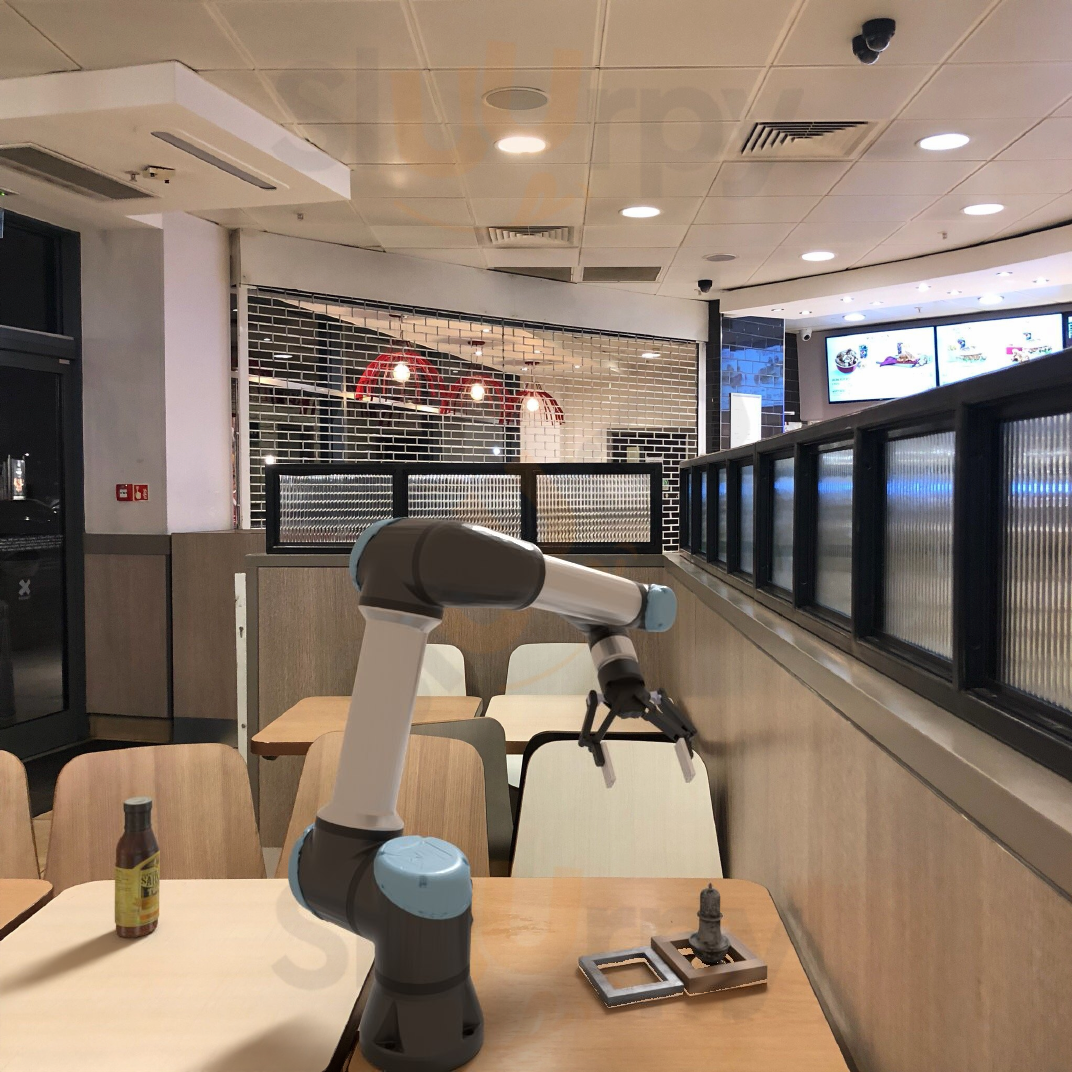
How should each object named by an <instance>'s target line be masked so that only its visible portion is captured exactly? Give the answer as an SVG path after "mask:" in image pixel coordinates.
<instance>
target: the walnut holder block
mask: <svg viewBox="0 0 1072 1072" xmlns="http://www.w3.org/2000/svg"><path fill="white" fill-rule="evenodd" d="M720 929H721V934H722V935H724V936H726V937H727V938H728V939H729V940H730V947H729V948H728V952H727V954H728V955H729V956H730V957H731V958H732V959H733V961H734V963H731V962H729V963H727V964H722V965H716V966H710V967H704V968H698V969H695V968H694V967H693V966H692V964H691V961H689V960H688V959H687V958H686V957H685V956H683V955H682V954H681V953H680V952H679V951H678V949H683V948H686V949H687V948H691V944H690V942H689V937H690V935H692V934H693V933H696V932H698V930H699V929H694V930H688V931H681V932H674V933H667V934H662V935H661V934H660V935H655V936H654V935H653V936H650V947H651V948H652V949H653V951H654V952H655V953H656V954H657V955H658V956H659V957H660V958H661V959H662V960H663V962H664V963H665V964H666V965H667V966H668V967H669V968H670V969H671V970H672V972H673V973H674V974H675V975H676V976H677V977H678V978H679V979H680V980H681V981H682V983H683V984H684V988H685V989H686V990H687V992H688V993H689V994H693V993H694V994H695V993H704V992H710V991H716V990H719V989H721V990H722V989H725V988H731V987H736V986H740V985H743V984H749V983H752V982H756V981H760V980H765V979H767V980H768V964H767V963H766V962H764V960H762V959H761V958H760V957H759V956H758V955H757V954H755V952H754V951H752V950H751V949H750V948H749V947H748V946H747V945H746V944H744V943H743V941H741V940H740V939H739V938H737V936H735V935H734V934H733V933H732V932H731V931H730V930H729V929H728V928H726V926H724V925H720ZM691 949H692V948H691Z"/></svg>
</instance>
